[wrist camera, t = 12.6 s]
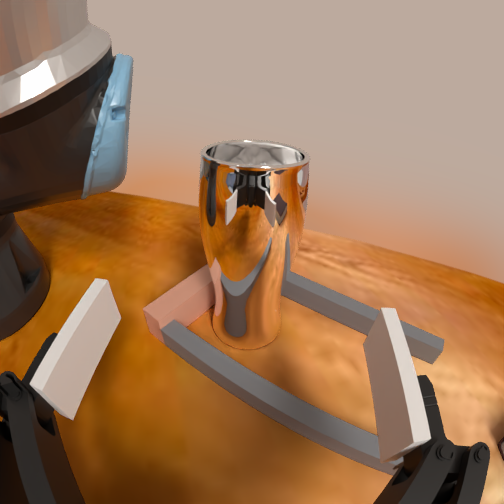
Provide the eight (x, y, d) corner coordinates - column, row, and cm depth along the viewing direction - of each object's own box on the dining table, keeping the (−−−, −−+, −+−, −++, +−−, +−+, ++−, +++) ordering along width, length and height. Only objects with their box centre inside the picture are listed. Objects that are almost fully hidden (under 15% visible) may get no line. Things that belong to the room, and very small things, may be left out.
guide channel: (150, 332, 23) (142, 308, 21) (240, 263, 32) (240, 241, 30) (395, 476, 12) (417, 466, 11) (434, 352, 21) (449, 332, 19)
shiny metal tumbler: (211, 359, 21) (197, 169, 13) (204, 299, 27) (196, 140, 18) (295, 347, 22) (334, 169, 14) (274, 292, 28) (292, 139, 20)
